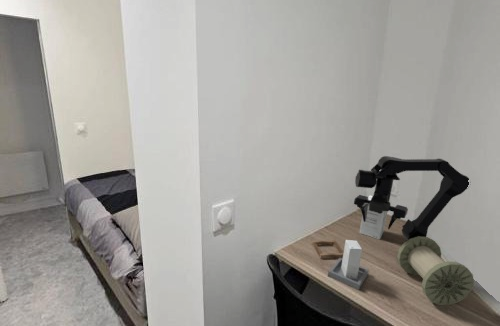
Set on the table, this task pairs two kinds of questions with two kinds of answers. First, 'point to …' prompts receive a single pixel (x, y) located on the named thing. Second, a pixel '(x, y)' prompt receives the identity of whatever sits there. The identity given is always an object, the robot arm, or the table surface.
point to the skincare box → (351, 259)
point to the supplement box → (373, 223)
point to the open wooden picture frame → (331, 255)
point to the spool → (435, 271)
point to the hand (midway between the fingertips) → (376, 225)
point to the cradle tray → (339, 275)
